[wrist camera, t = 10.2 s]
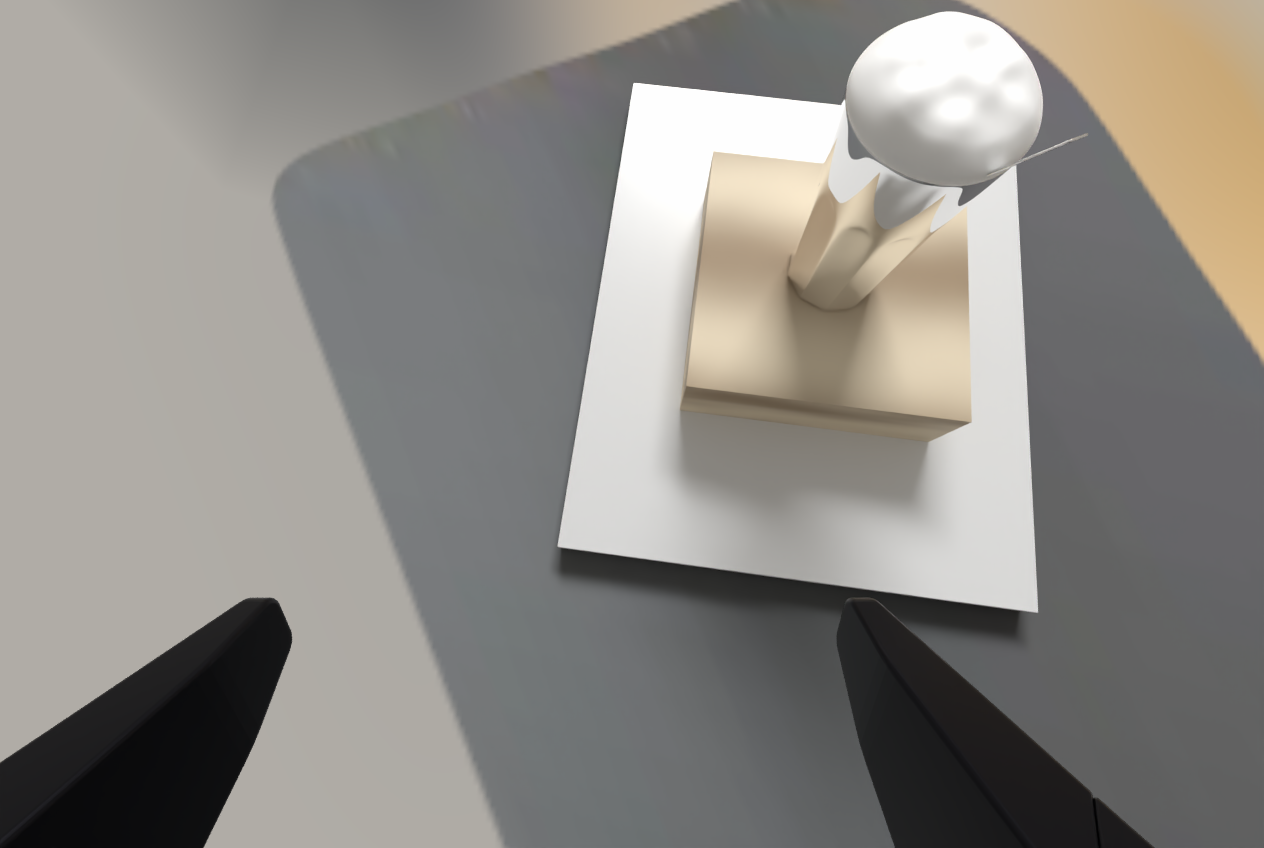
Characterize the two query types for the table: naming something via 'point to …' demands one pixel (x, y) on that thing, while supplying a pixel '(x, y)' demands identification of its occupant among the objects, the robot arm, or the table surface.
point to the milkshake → (913, 150)
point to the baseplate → (776, 452)
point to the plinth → (820, 319)
